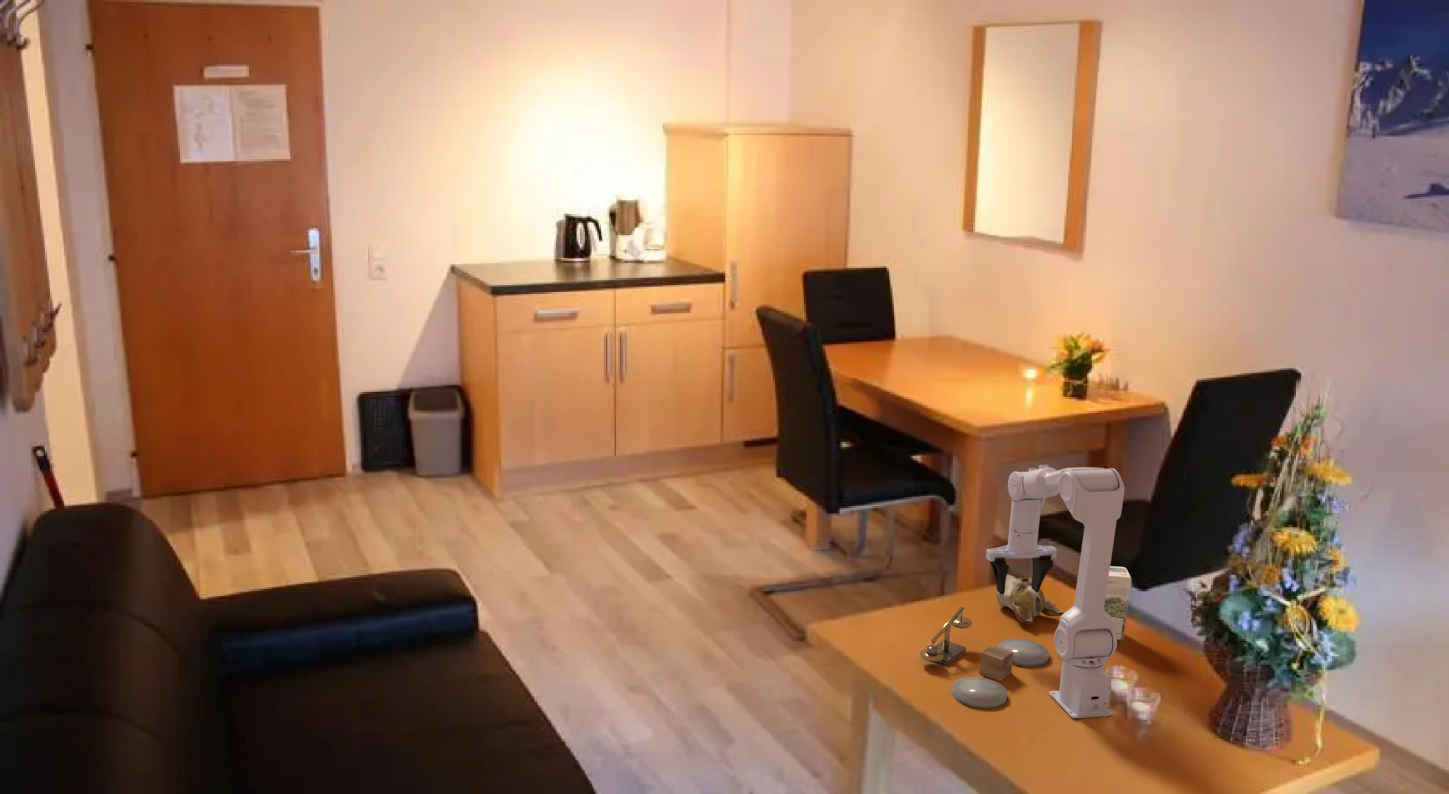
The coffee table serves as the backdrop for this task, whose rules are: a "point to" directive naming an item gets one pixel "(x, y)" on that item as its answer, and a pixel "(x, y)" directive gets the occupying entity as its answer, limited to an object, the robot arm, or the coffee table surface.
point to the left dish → (979, 692)
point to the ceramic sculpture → (1025, 600)
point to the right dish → (1026, 652)
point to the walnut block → (996, 662)
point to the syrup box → (1118, 598)
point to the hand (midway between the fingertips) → (1017, 591)
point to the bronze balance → (947, 642)
